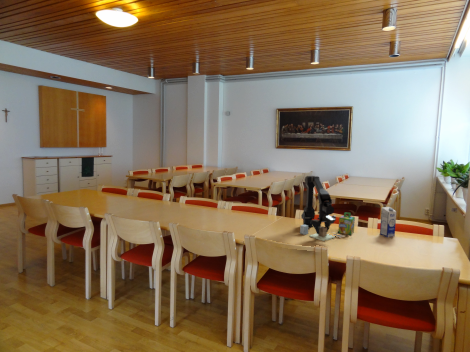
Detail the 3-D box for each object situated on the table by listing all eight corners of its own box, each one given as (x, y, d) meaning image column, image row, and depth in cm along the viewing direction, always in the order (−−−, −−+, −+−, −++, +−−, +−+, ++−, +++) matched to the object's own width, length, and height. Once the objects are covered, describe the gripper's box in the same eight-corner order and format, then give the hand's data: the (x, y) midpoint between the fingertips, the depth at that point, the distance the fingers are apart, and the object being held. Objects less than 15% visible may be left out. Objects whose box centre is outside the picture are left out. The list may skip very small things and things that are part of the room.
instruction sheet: (327, 234, 234) (327, 234, 234) (333, 232, 238) (334, 232, 238) (339, 237, 226) (339, 237, 226) (345, 236, 230) (345, 235, 230)
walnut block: (318, 235, 228) (318, 227, 227) (321, 234, 230) (322, 226, 229) (322, 237, 225) (323, 228, 224) (326, 236, 227) (326, 227, 226)
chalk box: (338, 233, 237) (338, 213, 235) (341, 230, 245) (342, 210, 243) (351, 235, 232) (352, 214, 230) (354, 232, 240) (355, 212, 238)
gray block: (300, 233, 236) (300, 225, 235) (303, 232, 238) (304, 224, 238) (304, 234, 233) (304, 226, 232) (308, 233, 235) (308, 225, 234)
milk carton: (387, 233, 237) (389, 206, 234) (394, 236, 231) (396, 208, 228) (379, 234, 234) (381, 207, 232) (387, 237, 228) (389, 209, 225)
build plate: (309, 236, 229) (309, 235, 229) (321, 233, 236) (321, 232, 236) (323, 241, 219) (323, 239, 219) (334, 237, 226) (335, 236, 226)
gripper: (323, 215, 213) (323, 238, 215) (341, 211, 224) (340, 233, 226) (310, 211, 222) (309, 234, 224) (328, 208, 233) (327, 229, 235)
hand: (322, 233), depth 227 cm, fingers open, 9 cm apart
